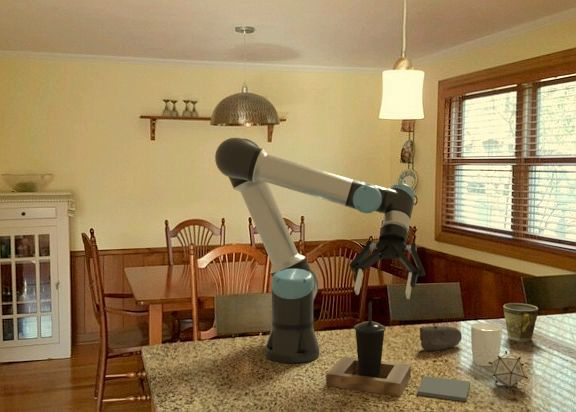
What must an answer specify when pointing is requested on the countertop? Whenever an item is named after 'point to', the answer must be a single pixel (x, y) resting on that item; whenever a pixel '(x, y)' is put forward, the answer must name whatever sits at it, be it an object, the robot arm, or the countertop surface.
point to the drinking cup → (369, 346)
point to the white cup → (485, 343)
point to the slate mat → (444, 388)
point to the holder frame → (391, 385)
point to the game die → (508, 370)
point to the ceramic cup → (520, 321)
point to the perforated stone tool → (439, 337)
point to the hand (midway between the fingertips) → (381, 294)
